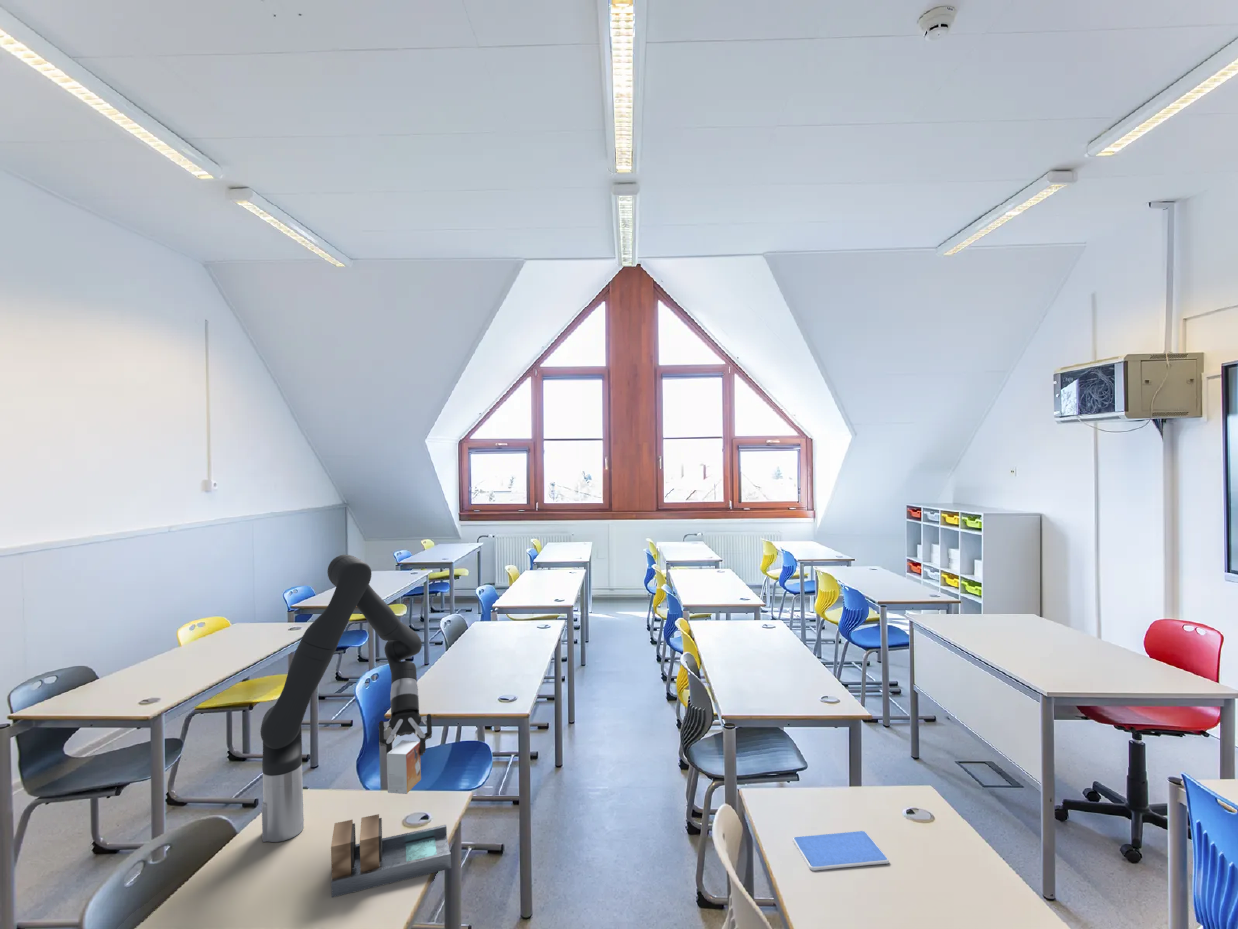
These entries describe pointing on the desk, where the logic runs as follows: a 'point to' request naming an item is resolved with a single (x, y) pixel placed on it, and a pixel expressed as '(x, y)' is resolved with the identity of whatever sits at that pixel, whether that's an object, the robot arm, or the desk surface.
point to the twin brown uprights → (346, 846)
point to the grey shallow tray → (400, 860)
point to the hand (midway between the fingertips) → (406, 757)
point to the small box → (403, 767)
